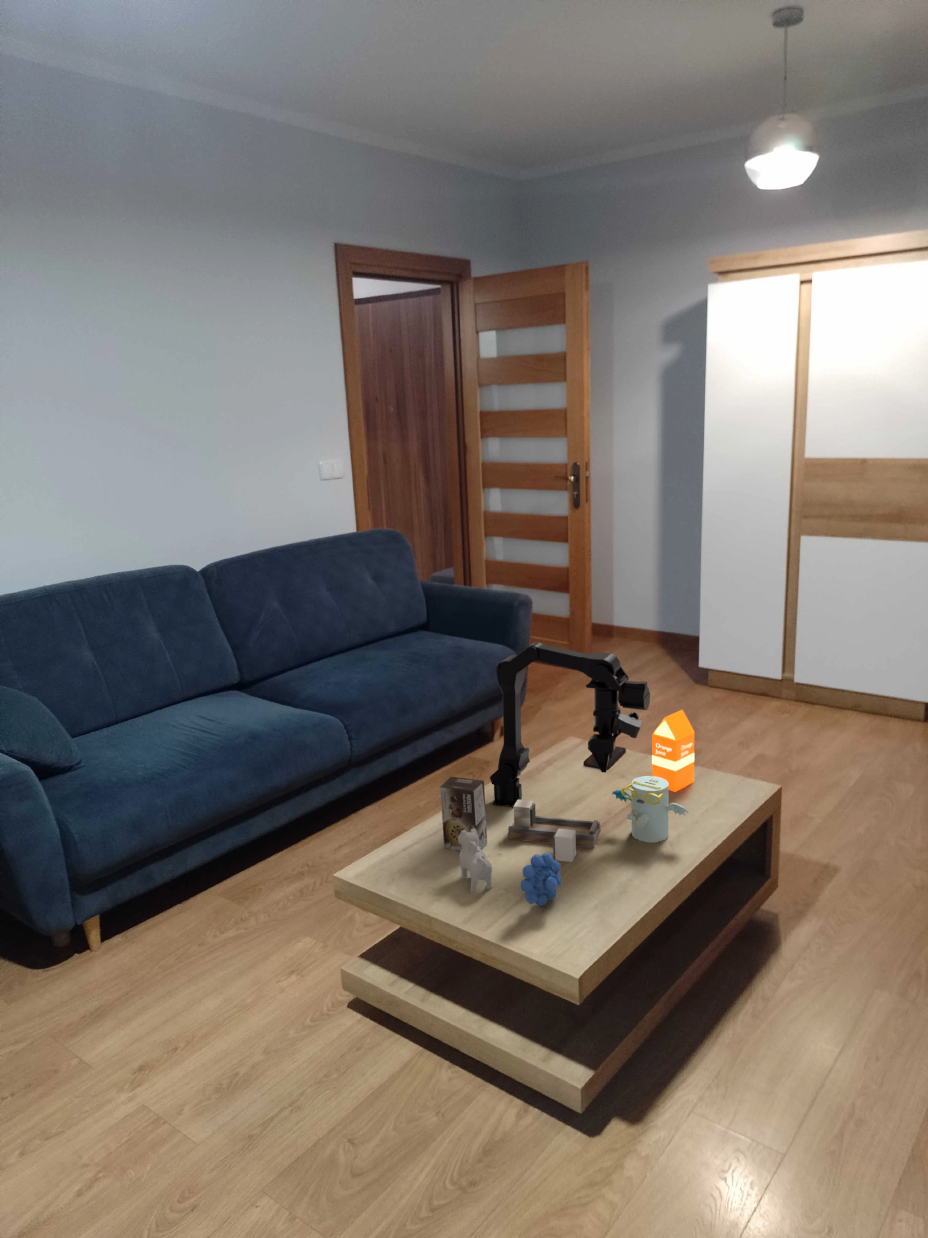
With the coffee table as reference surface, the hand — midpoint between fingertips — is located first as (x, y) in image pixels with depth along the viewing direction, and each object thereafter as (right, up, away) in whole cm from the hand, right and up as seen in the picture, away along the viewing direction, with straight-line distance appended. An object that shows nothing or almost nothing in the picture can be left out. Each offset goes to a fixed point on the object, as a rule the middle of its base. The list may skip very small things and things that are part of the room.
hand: (606, 765), depth 227 cm
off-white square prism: (-12, -19, -15) cm, 27 cm away
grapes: (-18, -24, -36) cm, 47 cm away
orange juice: (+22, -9, +22) cm, 32 cm away
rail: (-13, -16, -5) cm, 22 cm away
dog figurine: (-33, -22, -24) cm, 46 cm away
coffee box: (-35, -18, -7) cm, 40 cm away
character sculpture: (+9, -16, -7) cm, 20 cm away
